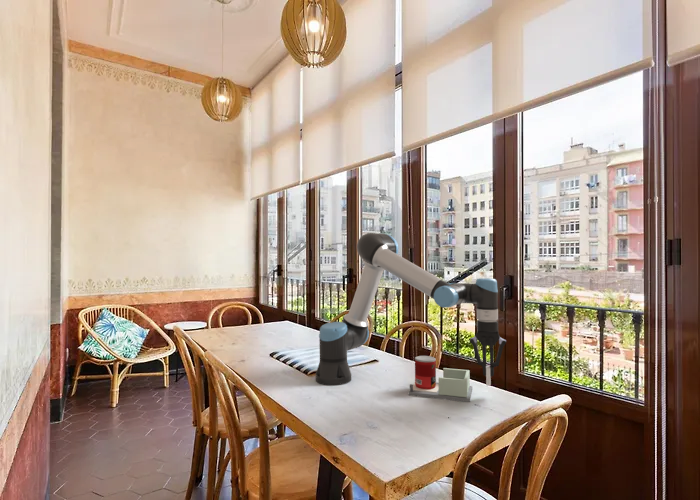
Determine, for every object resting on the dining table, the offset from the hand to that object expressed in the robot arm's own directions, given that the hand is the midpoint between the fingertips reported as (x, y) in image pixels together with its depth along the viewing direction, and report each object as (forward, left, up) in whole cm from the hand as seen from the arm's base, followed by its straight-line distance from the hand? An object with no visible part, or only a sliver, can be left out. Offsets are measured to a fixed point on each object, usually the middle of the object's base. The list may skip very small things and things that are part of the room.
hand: (488, 384), depth 153 cm
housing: (-12, 0, -3) cm, 13 cm away
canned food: (-23, 0, -3) cm, 24 cm away
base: (-17, 0, -5) cm, 18 cm away
